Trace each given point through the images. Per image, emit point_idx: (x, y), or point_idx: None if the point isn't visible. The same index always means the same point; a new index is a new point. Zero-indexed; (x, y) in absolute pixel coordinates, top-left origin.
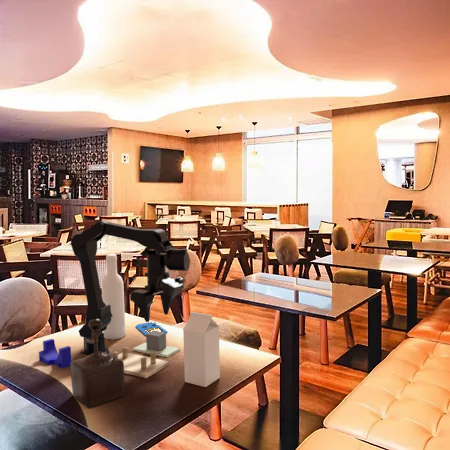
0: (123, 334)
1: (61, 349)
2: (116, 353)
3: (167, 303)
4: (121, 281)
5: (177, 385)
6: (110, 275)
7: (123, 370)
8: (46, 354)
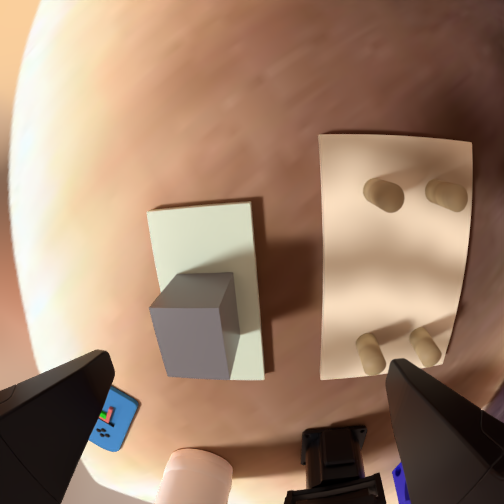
0: (188, 454)
1: None
2: (436, 348)
3: (39, 419)
4: None
5: (440, 11)
6: None
7: None
8: None
